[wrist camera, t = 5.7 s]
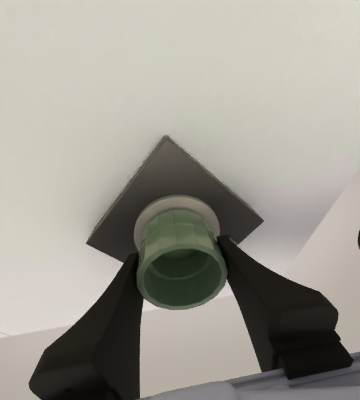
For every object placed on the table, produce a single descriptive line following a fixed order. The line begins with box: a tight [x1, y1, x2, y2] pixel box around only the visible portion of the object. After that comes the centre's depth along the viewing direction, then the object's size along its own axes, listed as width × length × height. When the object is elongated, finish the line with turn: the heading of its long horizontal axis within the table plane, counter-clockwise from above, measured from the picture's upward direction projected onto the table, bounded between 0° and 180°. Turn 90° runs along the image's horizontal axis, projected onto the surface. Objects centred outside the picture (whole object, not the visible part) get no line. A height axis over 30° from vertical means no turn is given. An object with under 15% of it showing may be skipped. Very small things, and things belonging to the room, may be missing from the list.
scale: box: [86, 136, 264, 263], centre depth 17 cm, size 11×11×3 cm
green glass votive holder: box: [137, 210, 228, 310], centre depth 13 cm, size 6×6×4 cm
